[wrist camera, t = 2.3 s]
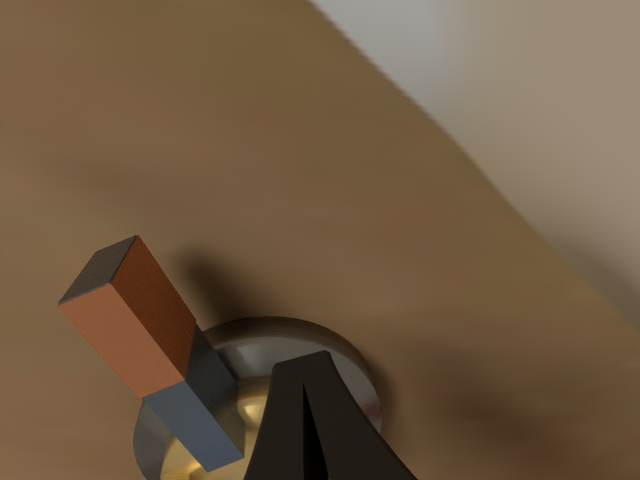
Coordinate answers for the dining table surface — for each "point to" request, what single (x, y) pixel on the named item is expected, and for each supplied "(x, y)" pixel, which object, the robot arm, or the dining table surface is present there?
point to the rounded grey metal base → (262, 371)
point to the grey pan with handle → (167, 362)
